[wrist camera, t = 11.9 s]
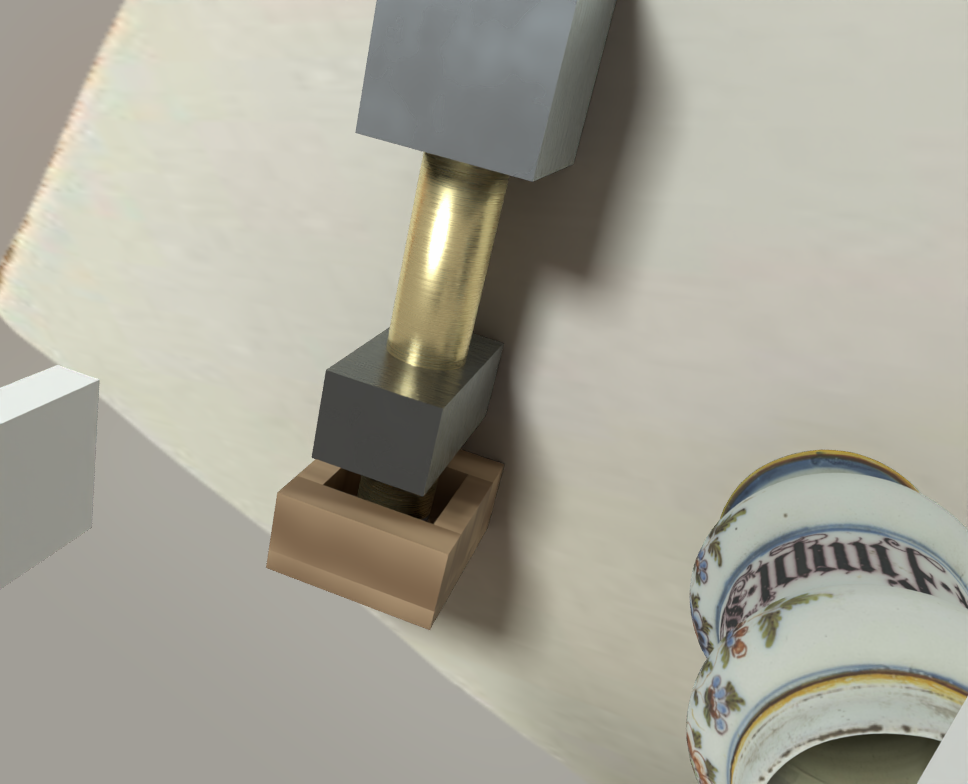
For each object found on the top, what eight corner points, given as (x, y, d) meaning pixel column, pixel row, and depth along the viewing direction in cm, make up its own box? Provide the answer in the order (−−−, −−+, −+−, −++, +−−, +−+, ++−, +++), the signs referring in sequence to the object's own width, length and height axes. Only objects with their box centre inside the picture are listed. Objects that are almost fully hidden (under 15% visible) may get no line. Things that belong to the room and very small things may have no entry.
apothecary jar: (972, 646, 40) (1137, 1023, 24) (714, 653, 44) (704, 983, 28) (954, 410, 37) (1129, 660, 21) (677, 441, 41) (640, 672, 25)
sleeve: (471, -90, 36) (399, -142, 28) (630, -56, 35) (601, -99, 27) (429, 125, 39) (355, 132, 31) (573, 164, 38) (532, 181, 30)
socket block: (364, 416, 45) (277, 492, 37) (504, 464, 44) (448, 554, 35) (352, 480, 47) (266, 567, 38) (487, 528, 45) (429, 630, 37)
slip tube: (455, 85, 38) (373, 82, 29) (561, 112, 37) (509, 118, 28) (378, 469, 45) (295, 556, 37) (464, 499, 45) (400, 596, 36)
